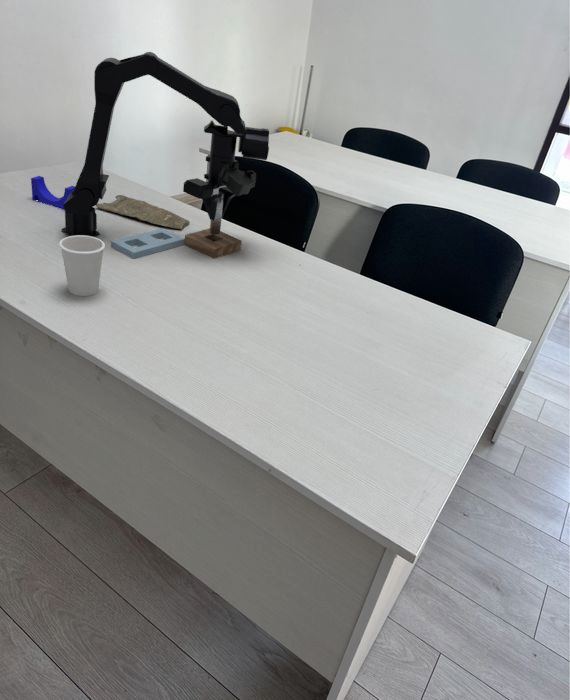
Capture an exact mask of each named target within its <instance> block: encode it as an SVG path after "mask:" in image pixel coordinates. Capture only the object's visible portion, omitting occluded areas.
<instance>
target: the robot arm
mask: <svg viewBox="0 0 570 700" xmlns="http://www.w3.org/2000/svg"><path fill="white" fill-rule="evenodd" d="M145 76H151V77H152V78H153V79H155V80H158V81H159V82H161V83H162V84H164V85H165V86H167V87H169V88H170V89H172V90H174V91H176V92H177V93H179V94H181V95H182V96H185V97H186V98H187V99H189V100H190V101H192V102H194V103H195V104H197V105H199V107H200V108H202V109H203V110H204V111H205V112H206V114H208V116H210V117H212V118H213V119H214V120H215V121H216V123H218V124H215V122H214V120H210V122H209V123H208V124H206V125H204V126H203V132H204V133H206V134H211V139H210V148H209V149H210V150H209V155H206V156H205V161H206V162H208V163H209V164H208V173H204V175H203V176H204V177H203V178H204V179H205V180H207V181H204V180H203V179H200V178H198V177H197V178H190V179H186V180H185V181H184V182H183V191H182V192H183V193H186V194H187V195H190V196H192V197H194V198H197V199H200V200H202V202H203V204H204V207H205V210H206V212H207V216H208V218H209V221H211V220H214V218H215V214H216V208H217V201H218V200H219V199H220V198H221V197H222V196H221V195H218V192H223V193H224V200H223V210H222V218H223V217H224V215H225V213H226V211H227V209H228V206H229V205H230V202H231V200H232V199H233V198H234V197H240V196H242V195H248V194H249V192H250V190H251V189H253V188H255V187H256V182H257V173H256V172H255V171H254V170H247V171H246V172H245V170H240V169H239V164H240V163H239V161H238V160H236V159H235V158H236V150H238V151H237V152H238V153H241V154H240V155H241V156H242V158H247V159H252V160H253V159H254V160H262V161H267V160H268V156H269V152H270V151H269V149H270V145H269V143H270V140H269V139H270V131H269V130H270V129H269V128H257V127H250V126H246V124H245V121H244V120H243V118H242V117H241V109H240V104H239V102H238V100H237V98H235V97H234V95H232V94H229V93H226V92H224V91H221V90H219V89H215V88H211V87H209V86H206V85H204V84H203V83H201V82H199V81H198V80H197V79H194V78H193V77H191V76H190V75H187V74H186V73H185V72H183V71H182V70H180V69H178V68H177V67H175V66H173V65H172V64H170V63H168V62H167V61H166V60H163V59H162V58H161V57H158V56H157V55H156V53H154V52H151V51H146V52H144V53H143V54H139V55H134V56H130V57H126V58H123V59H120V60H119V59H118V58H115V57H107V58H105V59H102V61H101V62H99V63H98V64H97V65H96V66H95V69H94V76H93V77H94V80H93V81H94V83H93V84H94V98H95V105H94V109H93V110H94V111H93V115H92V122H91V128H90V132H89V138H88V143H87V148H86V154H85V160H84V164H83V167H82V169H81V171H80V173H79V174H80V175H79V176H78V178H77V181H76V184H75V185H74V186H75V189H74V191H73V192H71V193H70V195H69V197H68V198H67V200H66V201H65V203H64V205H63V206H64V208H65V210H64V224H65V225H64V227H63V228H61V232H62V233H64V234H66V235H68V236H76V235H84V236H91V237H95V236H99V235H100V231H99V230H98V226H97V225H98V224H97V223H98V222H97V220H98V219H97V213H96V208H95V207H94V206H96V204H99V201H100V200H103V199H104V196H105V195H106V191H107V186H106V185H107V182H108V179H109V177H110V175H109V174H104V170H103V169H104V166H103V165H104V162H105V161H104V160H105V157H106V156H105V154H106V151H107V145H108V140H109V135H110V130H111V125H112V121H113V120H112V119H113V115H114V110H115V106H116V103H117V101H118V98H119V96H120V94H121V92H122V89H123V87H124V84H125V83H128V82H131V81H133V80H136V79H139V78H142V77H145ZM228 127H229V128H230V129H232V130H230V129H229V128H228ZM237 139H238V145H237ZM237 146H238V149H236V147H237Z"/></svg>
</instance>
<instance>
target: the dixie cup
mask: <svg viewBox="0 0 570 700" xmlns="http://www.w3.org/2000/svg"><path fill="white" fill-rule="evenodd" d="M58 245H59V247H60V249H61V256H62V260H63V267H64V270H65V271H64V272H65V277H66V282H67V287H68V292H69V293H71V294H72V295H74V296H78V297H89V296H93V295H95V294H97V293H98V292H99V287H100V279H101V270H102V261H103V255H104V249H105V248H106V244H105V242H104V241H102V240H101V239H100V238H97V237H95V236H92V237H91V236H84V235H76V236H70V235H68V236H66V237H64V238H62V239H61V240H60V241H59V243H58Z"/></svg>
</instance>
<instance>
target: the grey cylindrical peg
mask: <svg viewBox="0 0 570 700" xmlns="http://www.w3.org/2000/svg"><path fill="white" fill-rule="evenodd" d="M218 195H221V196H222V197H221V198H220V199H219V200H218V201H217V208H216V214H215V218H214V220H210V223H209V228H210V233H211V234H214V235H218V234H220V231H221V226H222V219H223V217H222V210H223V200H224V193H223V192H218Z"/></svg>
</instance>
